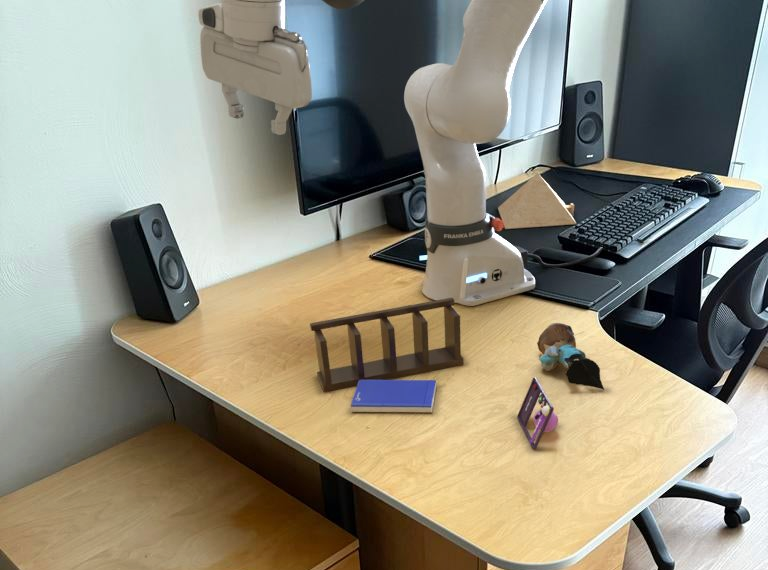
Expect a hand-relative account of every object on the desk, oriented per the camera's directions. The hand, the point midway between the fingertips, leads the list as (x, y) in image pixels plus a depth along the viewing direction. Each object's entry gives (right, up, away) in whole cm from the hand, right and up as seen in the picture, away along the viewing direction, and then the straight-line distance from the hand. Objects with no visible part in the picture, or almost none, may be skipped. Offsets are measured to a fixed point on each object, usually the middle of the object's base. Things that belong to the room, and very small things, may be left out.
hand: (257, 125), depth 118 cm
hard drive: (+21, -42, +2) cm, 47 cm away
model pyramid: (+57, +12, +68) cm, 90 cm away
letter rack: (+21, -36, +10) cm, 43 cm away
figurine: (+49, -37, +6) cm, 62 cm away
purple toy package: (+42, -48, -8) cm, 64 cm away
